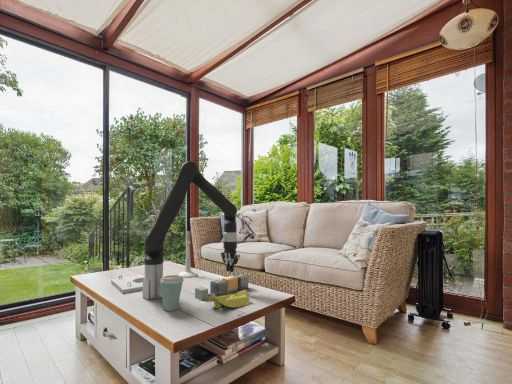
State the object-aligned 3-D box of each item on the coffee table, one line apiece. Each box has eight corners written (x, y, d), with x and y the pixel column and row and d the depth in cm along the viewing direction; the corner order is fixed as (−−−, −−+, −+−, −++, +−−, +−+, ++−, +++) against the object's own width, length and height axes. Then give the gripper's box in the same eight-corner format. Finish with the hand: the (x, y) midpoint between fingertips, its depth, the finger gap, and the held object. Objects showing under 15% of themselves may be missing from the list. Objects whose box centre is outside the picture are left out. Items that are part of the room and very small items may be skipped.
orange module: (228, 291, 159) (228, 279, 159) (222, 289, 163) (222, 277, 163) (237, 288, 164) (237, 276, 165) (231, 286, 168) (231, 275, 168)
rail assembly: (214, 299, 151) (214, 284, 151) (205, 296, 155) (205, 282, 156) (249, 288, 170) (249, 275, 170) (240, 285, 175) (240, 273, 175)
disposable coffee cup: (158, 306, 140) (158, 274, 141) (181, 303, 144) (181, 272, 145) (160, 314, 130) (161, 279, 131) (185, 310, 135) (185, 277, 135)
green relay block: (201, 300, 149) (201, 290, 149) (194, 297, 153) (195, 288, 153) (208, 298, 152) (208, 288, 152) (201, 296, 156) (201, 286, 156)
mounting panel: (175, 276, 177) (122, 285, 159) (175, 285, 177) (122, 294, 159) (159, 268, 198) (111, 275, 180) (159, 276, 198) (110, 283, 180)
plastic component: (235, 293, 153) (247, 288, 147) (238, 308, 150) (251, 304, 144) (203, 298, 140) (214, 293, 133) (205, 315, 137) (217, 311, 130)
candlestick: (186, 278, 190) (186, 232, 191) (173, 275, 197) (174, 230, 198) (201, 275, 200) (201, 230, 201) (188, 272, 208) (189, 229, 209)
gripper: (216, 239, 166) (216, 270, 166) (233, 242, 157) (233, 274, 156) (226, 238, 172) (226, 268, 171) (243, 240, 162) (243, 272, 162)
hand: (230, 271), depth 164 cm, fingers closed
